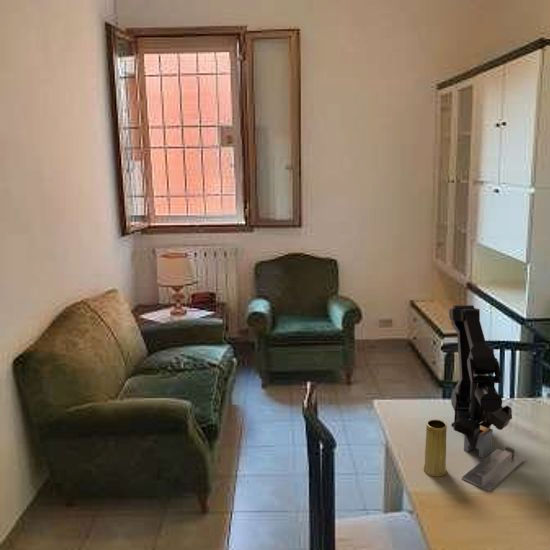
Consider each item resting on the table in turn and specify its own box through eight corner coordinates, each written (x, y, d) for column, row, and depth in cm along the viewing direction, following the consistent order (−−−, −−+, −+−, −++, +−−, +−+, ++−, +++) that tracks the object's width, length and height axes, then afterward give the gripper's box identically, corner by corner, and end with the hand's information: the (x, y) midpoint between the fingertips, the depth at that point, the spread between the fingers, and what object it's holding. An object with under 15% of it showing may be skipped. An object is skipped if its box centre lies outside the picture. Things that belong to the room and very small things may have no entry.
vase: (446, 466, 159) (448, 420, 155) (445, 478, 153) (447, 430, 150) (424, 462, 161) (426, 417, 157) (422, 474, 155) (424, 427, 152)
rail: (461, 479, 152) (462, 470, 152) (497, 450, 166) (497, 442, 165) (489, 491, 147) (490, 483, 146) (524, 461, 160) (524, 452, 159)
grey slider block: (463, 450, 166) (464, 427, 165) (472, 443, 170) (473, 421, 168) (482, 458, 162) (484, 435, 160) (491, 451, 165) (492, 428, 164)
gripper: (491, 416, 150) (488, 468, 153) (523, 393, 162) (519, 442, 166) (453, 403, 158) (451, 453, 161) (486, 382, 170) (483, 429, 174)
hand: (477, 444), depth 165 cm, fingers closed on grey slider block, 5 cm apart
